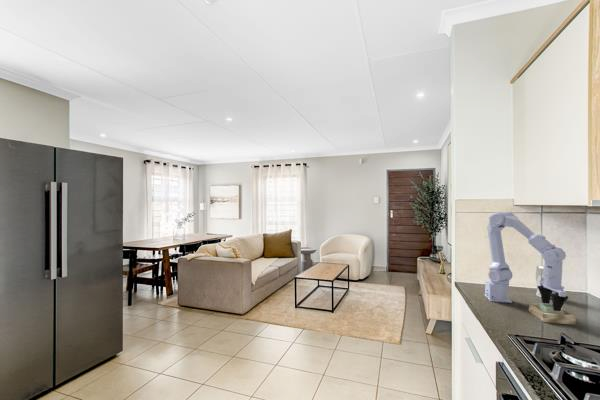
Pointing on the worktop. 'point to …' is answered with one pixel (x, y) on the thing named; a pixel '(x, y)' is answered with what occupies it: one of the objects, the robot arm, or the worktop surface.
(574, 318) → the wooden tray
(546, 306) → the small crate
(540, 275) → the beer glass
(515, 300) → the worktop surface
